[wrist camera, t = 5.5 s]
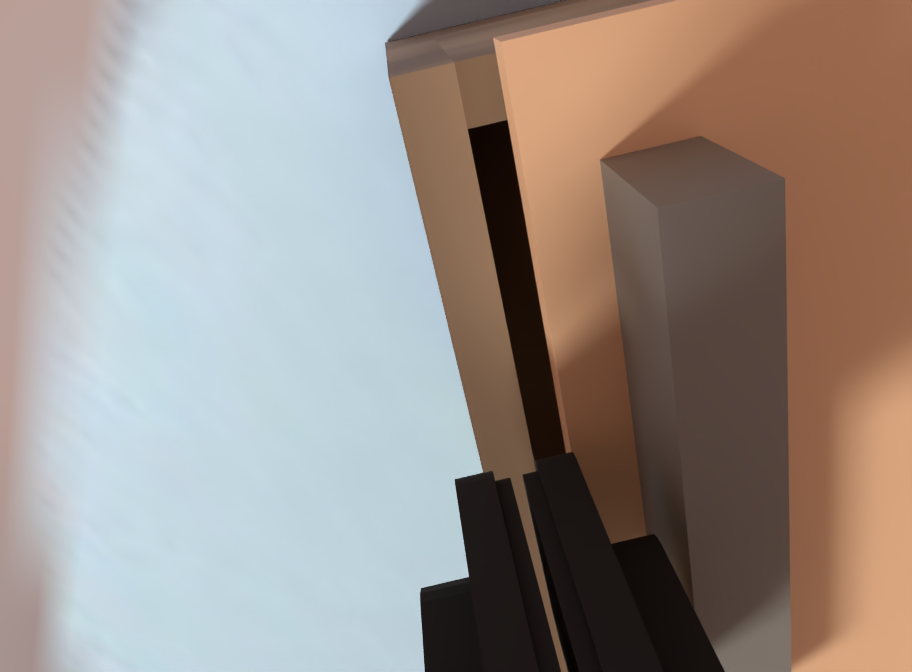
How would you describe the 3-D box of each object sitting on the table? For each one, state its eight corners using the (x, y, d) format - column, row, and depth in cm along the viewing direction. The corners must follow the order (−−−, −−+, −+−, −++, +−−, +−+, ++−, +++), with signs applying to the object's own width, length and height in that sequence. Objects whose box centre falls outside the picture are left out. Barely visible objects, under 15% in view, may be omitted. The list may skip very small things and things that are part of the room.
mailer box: (1076, -121, 13) (1429, -167, 9) (996, 451, 19) (1188, 600, 14) (385, 42, 13) (388, 77, 9) (508, 563, 19) (548, 745, 15)
